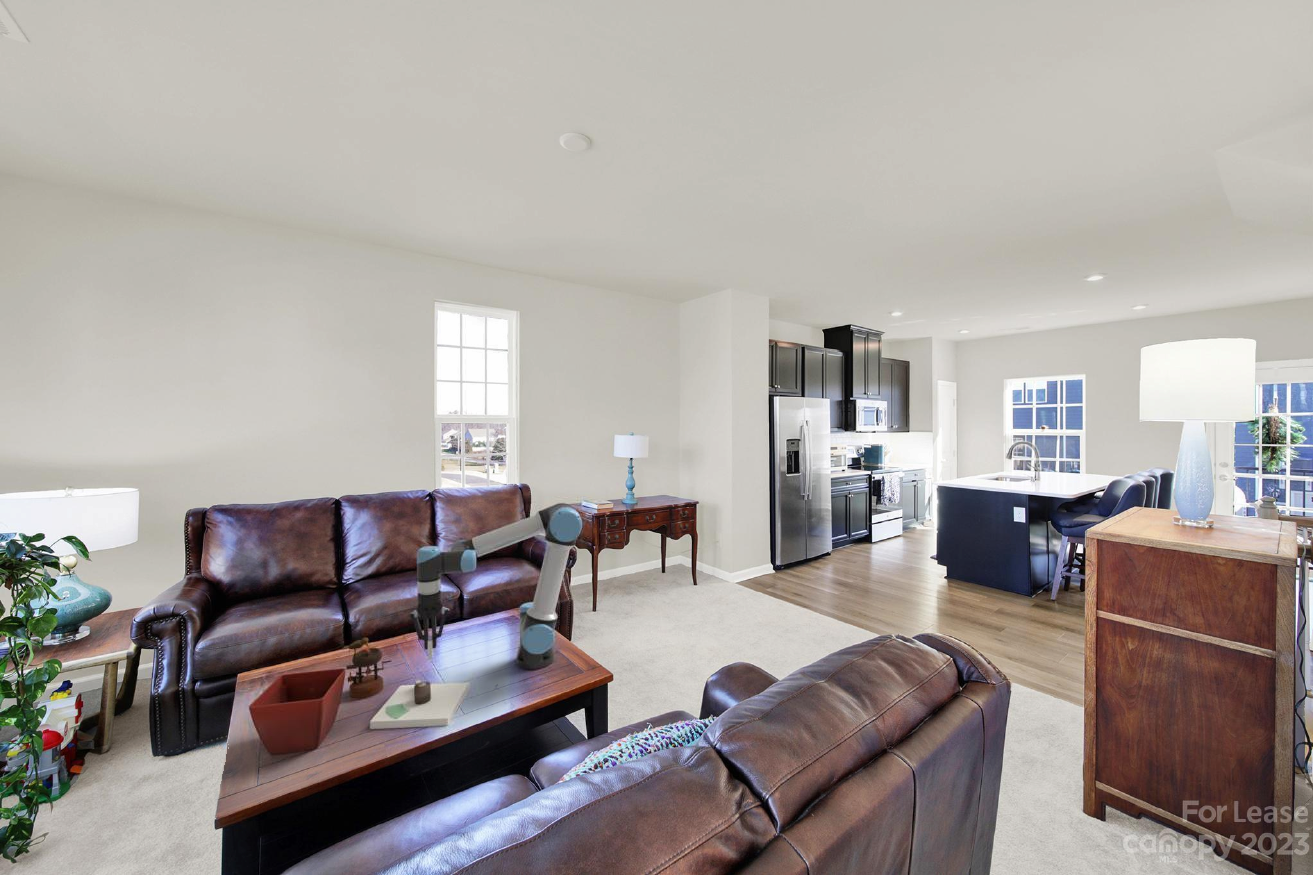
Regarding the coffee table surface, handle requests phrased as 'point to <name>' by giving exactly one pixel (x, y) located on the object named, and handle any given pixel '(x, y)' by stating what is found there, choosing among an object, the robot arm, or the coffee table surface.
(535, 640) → the robot arm
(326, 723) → the plant pot
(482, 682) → the coffee table surface
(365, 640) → the music box
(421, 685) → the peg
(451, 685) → the board
